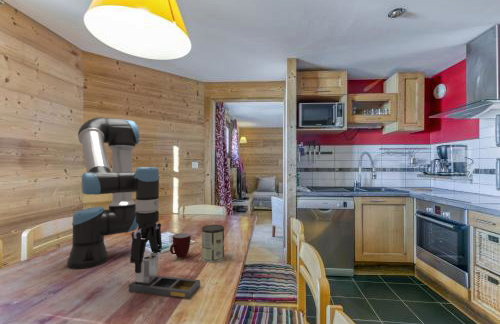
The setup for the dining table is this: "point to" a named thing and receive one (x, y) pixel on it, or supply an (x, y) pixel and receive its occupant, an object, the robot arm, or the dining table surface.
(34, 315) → the dining table surface
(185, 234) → the mug
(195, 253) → the dining table surface
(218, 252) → the coffee can
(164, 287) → the grey compartment tray
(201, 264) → the dining table surface
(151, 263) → the grey block with knob
